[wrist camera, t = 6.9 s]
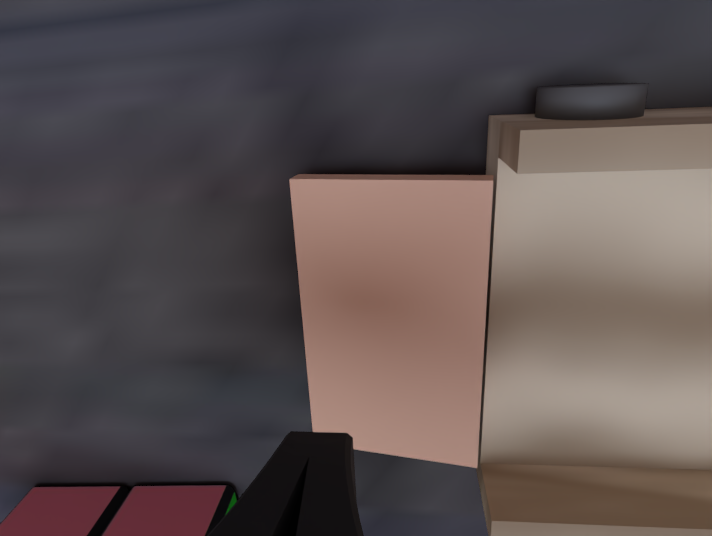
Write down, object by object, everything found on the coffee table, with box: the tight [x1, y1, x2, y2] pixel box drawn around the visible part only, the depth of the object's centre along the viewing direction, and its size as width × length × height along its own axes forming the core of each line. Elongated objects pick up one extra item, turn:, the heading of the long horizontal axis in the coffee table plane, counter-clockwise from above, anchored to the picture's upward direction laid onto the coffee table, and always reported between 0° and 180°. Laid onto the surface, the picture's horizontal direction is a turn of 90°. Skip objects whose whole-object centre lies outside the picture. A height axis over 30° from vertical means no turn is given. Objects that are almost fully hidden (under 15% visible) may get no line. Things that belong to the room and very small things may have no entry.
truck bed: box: [476, 83, 712, 536], centre depth 15 cm, size 15×12×6 cm
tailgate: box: [289, 174, 494, 468], centre depth 16 cm, size 1×10×6 cm
